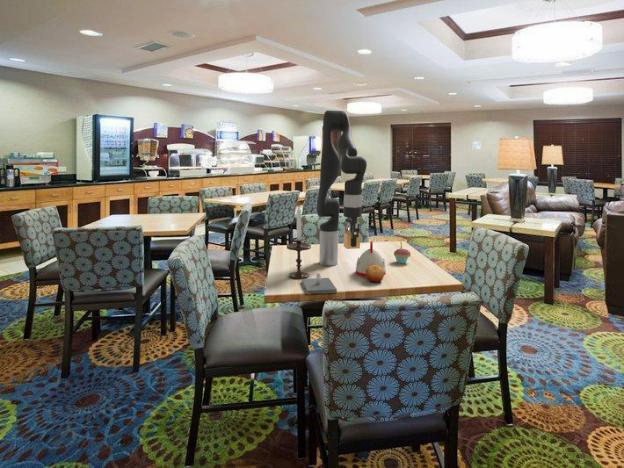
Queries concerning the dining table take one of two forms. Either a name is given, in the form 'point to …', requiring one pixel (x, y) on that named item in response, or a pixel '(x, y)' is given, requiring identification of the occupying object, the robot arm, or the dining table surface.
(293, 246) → the candlestick
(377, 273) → the fruit
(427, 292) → the dining table surface
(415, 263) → the dining table surface
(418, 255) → the dining table surface
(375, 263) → the kitchen timer
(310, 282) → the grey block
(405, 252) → the cupcake
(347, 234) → the peach colored cube
